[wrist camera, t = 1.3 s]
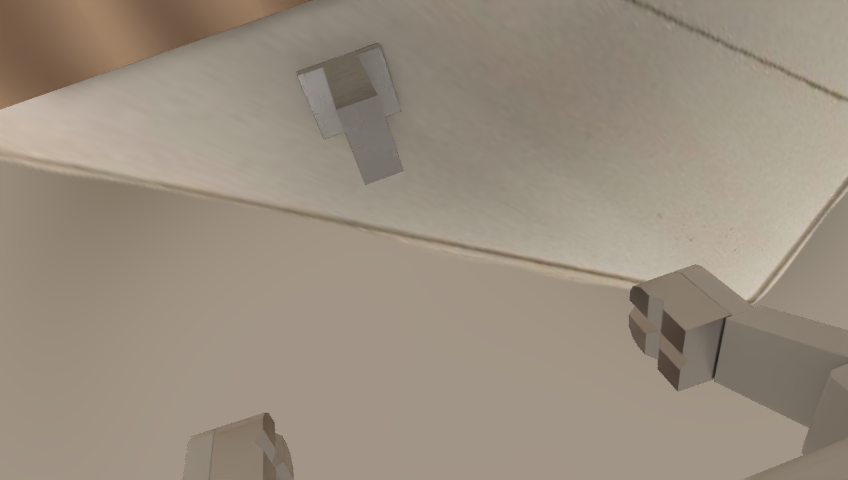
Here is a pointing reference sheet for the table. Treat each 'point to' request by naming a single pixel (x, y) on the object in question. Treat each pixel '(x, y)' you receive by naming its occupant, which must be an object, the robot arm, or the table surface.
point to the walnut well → (104, 36)
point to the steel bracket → (356, 107)
